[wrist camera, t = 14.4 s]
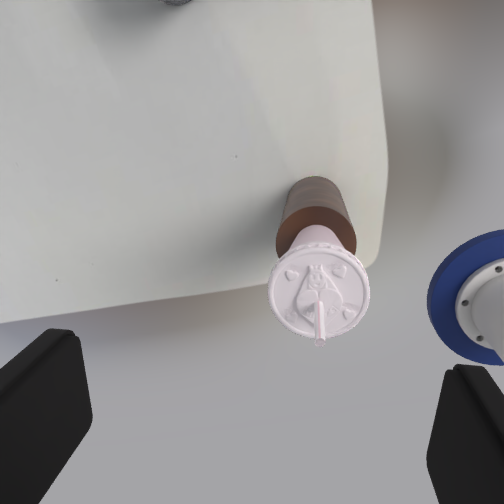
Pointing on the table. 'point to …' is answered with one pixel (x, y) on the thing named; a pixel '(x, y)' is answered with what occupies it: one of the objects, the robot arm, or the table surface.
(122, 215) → the table surface
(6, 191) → the table surface
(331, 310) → the smoothie
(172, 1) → the grey cup holder
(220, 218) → the table surface
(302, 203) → the stand
